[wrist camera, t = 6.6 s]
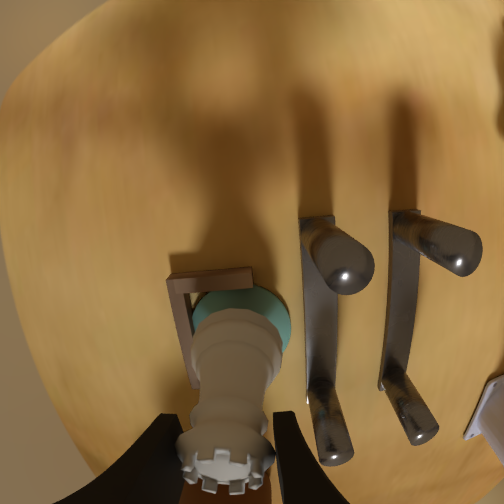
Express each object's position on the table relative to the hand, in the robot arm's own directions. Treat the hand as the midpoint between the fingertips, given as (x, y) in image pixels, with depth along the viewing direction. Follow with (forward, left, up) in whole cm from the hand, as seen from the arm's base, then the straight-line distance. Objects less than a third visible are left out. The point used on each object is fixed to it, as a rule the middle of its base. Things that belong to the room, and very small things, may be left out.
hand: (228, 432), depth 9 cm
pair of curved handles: (-7, 0, -8) cm, 11 cm away
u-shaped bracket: (0, 0, -8) cm, 8 cm away
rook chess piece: (0, 0, -6) cm, 6 cm away
